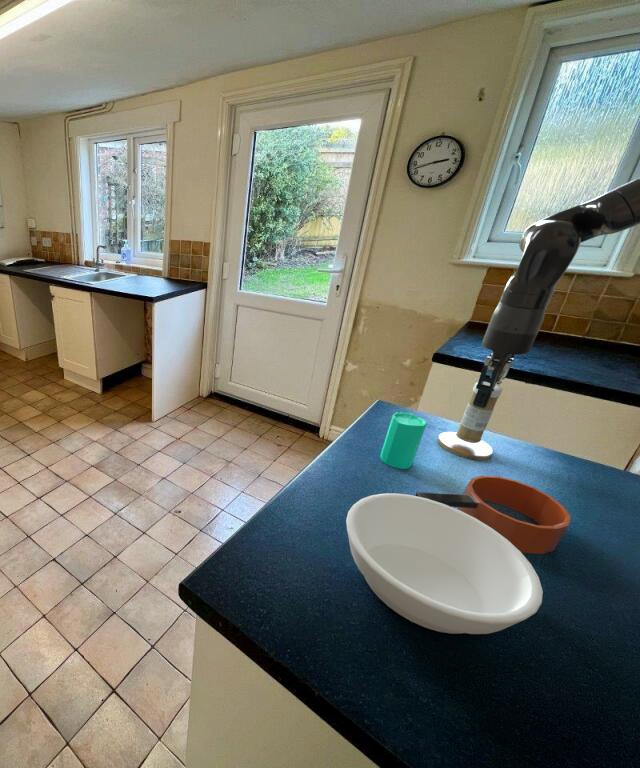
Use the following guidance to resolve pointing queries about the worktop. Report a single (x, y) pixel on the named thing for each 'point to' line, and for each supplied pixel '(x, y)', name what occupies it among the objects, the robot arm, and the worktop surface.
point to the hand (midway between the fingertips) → (482, 402)
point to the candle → (402, 440)
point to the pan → (518, 498)
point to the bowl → (441, 565)
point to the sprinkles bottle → (477, 417)
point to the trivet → (464, 447)
